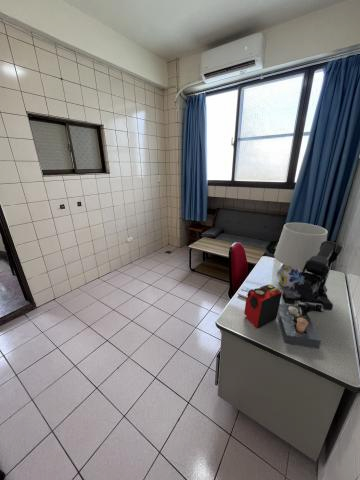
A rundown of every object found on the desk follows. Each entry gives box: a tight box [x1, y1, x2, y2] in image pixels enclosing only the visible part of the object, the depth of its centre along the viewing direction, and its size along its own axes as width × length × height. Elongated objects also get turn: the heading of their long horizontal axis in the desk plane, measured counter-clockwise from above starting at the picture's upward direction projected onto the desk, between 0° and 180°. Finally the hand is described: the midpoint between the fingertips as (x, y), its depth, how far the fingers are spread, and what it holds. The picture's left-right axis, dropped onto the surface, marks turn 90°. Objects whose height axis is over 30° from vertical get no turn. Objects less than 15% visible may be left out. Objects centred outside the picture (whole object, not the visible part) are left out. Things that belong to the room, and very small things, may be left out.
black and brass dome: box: [293, 313, 301, 322], centre depth 99 cm, size 3×3×4 cm
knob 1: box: [288, 306, 298, 315], centre depth 106 cm, size 4×4×6 cm
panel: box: [276, 303, 322, 350], centre depth 100 cm, size 14×22×5 cm, turn 168°
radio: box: [243, 284, 283, 330], centre depth 103 cm, size 16×10×20 cm, turn 118°
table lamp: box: [273, 222, 328, 292], centre depth 128 cm, size 27×27×40 cm
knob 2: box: [295, 318, 308, 333], centre depth 93 cm, size 4×4×6 cm
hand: (301, 315), depth 93 cm, fingers closed
